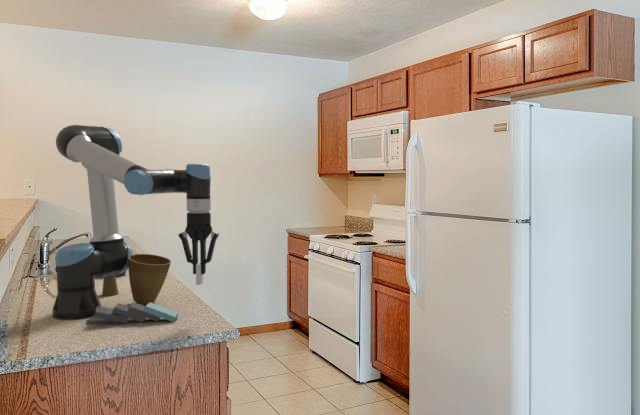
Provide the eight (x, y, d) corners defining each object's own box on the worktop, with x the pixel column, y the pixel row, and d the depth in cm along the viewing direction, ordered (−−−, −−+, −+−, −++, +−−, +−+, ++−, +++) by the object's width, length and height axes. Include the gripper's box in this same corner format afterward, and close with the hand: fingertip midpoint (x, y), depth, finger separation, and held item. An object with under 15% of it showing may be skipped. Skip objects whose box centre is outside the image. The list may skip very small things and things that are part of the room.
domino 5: (173, 322, 169) (143, 311, 168) (176, 317, 174) (148, 307, 173) (175, 316, 168) (145, 306, 168) (178, 312, 173) (150, 302, 173)
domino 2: (126, 323, 167) (93, 317, 164) (127, 317, 172) (95, 311, 169) (128, 318, 167) (95, 311, 164) (128, 312, 172) (97, 306, 169)
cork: (112, 296, 204) (111, 268, 204) (98, 295, 206) (97, 268, 205) (121, 292, 210) (120, 265, 209) (108, 292, 211) (106, 265, 211)
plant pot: (173, 303, 197) (179, 262, 195) (141, 310, 184) (147, 266, 182) (146, 291, 204) (152, 251, 202) (113, 297, 191) (119, 255, 189)
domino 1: (118, 326, 168) (86, 326, 167) (123, 321, 173) (93, 321, 172) (117, 320, 168) (86, 320, 167) (123, 316, 173) (92, 316, 172)
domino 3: (142, 322, 168) (112, 312, 167) (146, 318, 173) (116, 308, 172) (144, 317, 168) (114, 307, 167) (148, 313, 173) (118, 303, 172)
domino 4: (157, 321, 169) (127, 311, 168) (160, 317, 174) (131, 307, 172) (159, 316, 169) (129, 306, 167) (162, 312, 174) (133, 302, 172)
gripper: (175, 212, 166) (176, 286, 168) (216, 213, 166) (216, 286, 167) (181, 210, 173) (182, 281, 175) (221, 211, 173) (221, 281, 175)
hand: (199, 283), depth 171 cm, fingers closed
